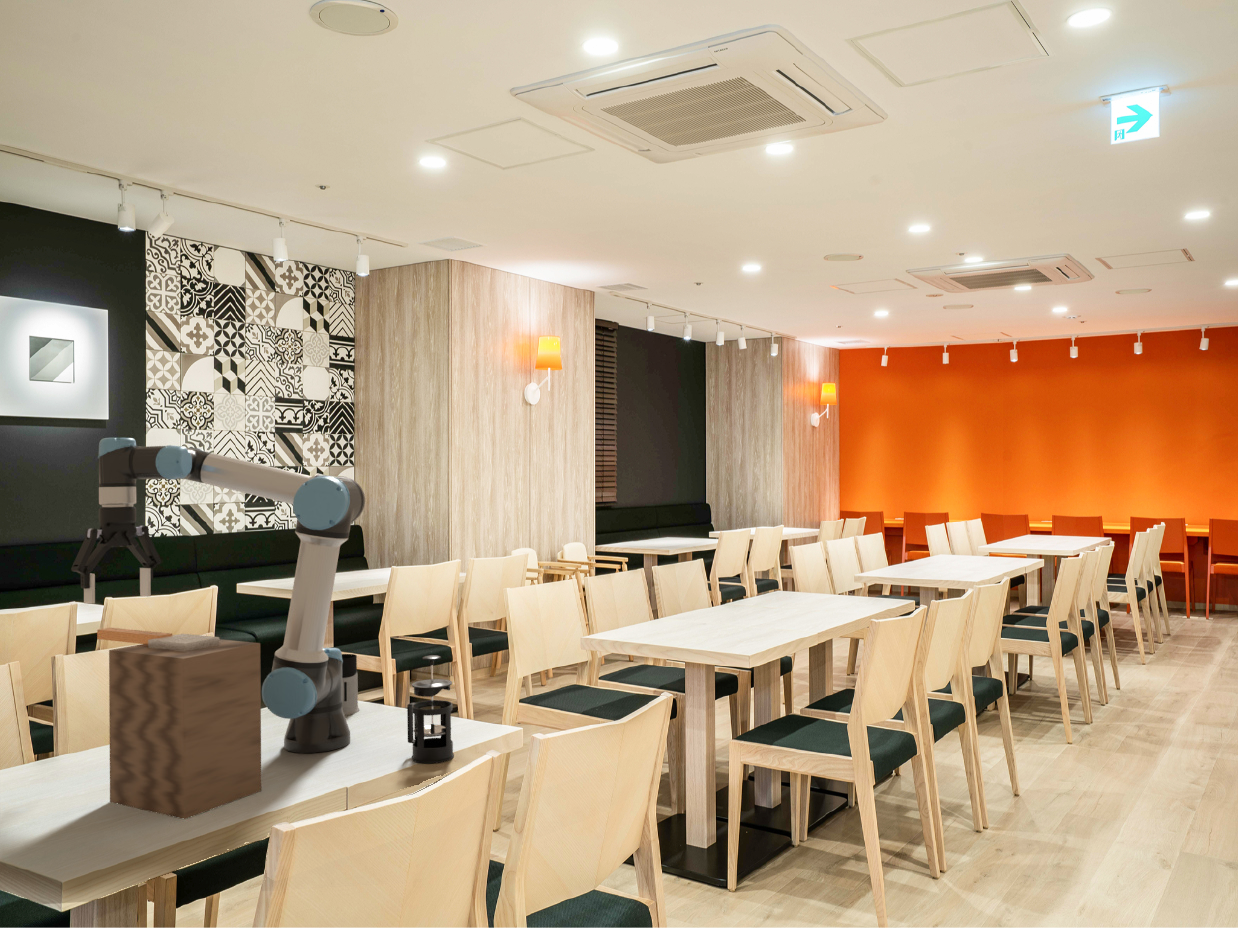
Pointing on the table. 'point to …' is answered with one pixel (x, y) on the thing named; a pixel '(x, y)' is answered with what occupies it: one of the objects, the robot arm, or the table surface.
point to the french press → (432, 747)
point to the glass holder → (349, 684)
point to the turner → (158, 639)
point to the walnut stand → (184, 727)
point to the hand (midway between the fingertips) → (118, 599)
